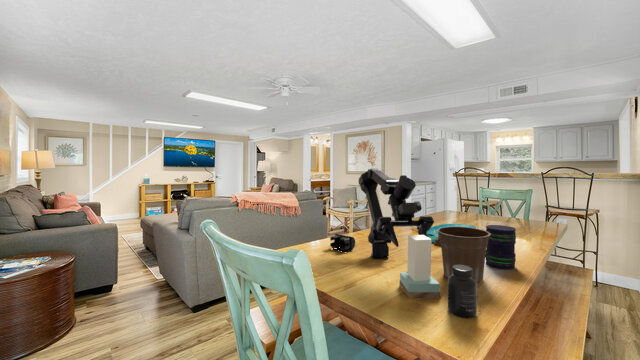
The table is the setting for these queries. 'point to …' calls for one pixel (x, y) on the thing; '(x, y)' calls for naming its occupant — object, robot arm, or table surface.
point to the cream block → (419, 257)
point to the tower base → (420, 293)
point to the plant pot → (464, 249)
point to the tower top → (419, 284)
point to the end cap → (342, 242)
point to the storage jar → (501, 247)
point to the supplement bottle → (462, 292)
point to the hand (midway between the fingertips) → (411, 245)
